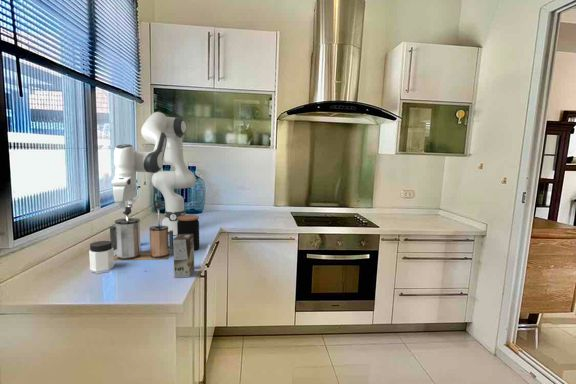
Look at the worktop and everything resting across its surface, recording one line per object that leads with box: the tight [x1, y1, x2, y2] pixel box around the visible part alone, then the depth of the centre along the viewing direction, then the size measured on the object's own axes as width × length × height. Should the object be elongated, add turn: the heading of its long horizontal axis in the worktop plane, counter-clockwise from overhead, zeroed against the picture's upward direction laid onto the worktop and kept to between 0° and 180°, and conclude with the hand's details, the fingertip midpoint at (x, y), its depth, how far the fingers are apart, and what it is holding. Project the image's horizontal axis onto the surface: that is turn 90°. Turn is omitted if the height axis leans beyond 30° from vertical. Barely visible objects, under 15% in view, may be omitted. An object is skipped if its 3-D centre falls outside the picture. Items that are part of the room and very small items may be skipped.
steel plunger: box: [122, 206, 132, 221], centre depth 154 cm, size 7×7×22 cm
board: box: [114, 249, 174, 262], centre depth 157 cm, size 14×26×1 cm, turn 98°
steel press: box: [109, 217, 142, 261], centre depth 154 cm, size 10×12×18 cm
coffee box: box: [173, 234, 195, 278], centre depth 137 cm, size 9×6×16 cm
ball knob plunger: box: [154, 201, 163, 228], centre depth 155 cm, size 6×6×17 cm
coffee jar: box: [177, 214, 200, 252], centre depth 168 cm, size 11×11×18 cm
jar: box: [88, 240, 115, 275], centre depth 139 cm, size 9×8×12 cm
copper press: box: [148, 225, 174, 258], centre depth 157 cm, size 8×10×14 cm
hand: (126, 209), depth 153 cm, fingers open, 8 cm apart
